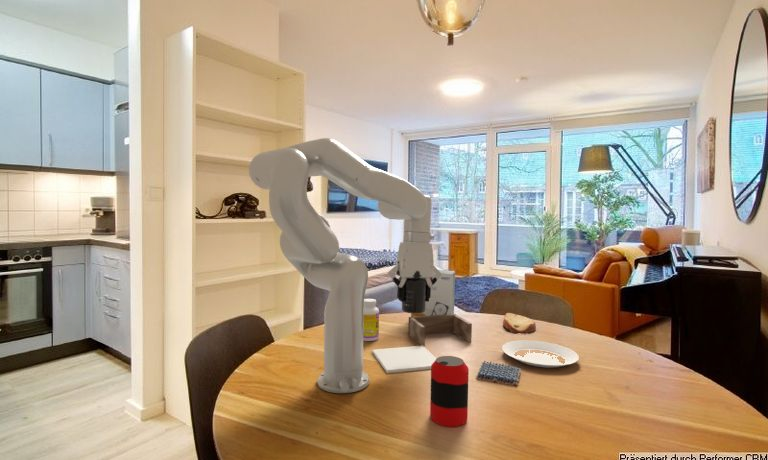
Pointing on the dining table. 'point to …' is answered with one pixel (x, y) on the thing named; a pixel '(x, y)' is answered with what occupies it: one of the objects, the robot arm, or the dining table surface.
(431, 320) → the shelf bay
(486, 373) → the woven mat
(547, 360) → the plate
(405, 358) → the white square board
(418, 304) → the supplement bottle
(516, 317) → the slice of bread
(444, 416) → the soda can
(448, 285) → the hard drive box
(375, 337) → the supplement bottle
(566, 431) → the dining table surface
